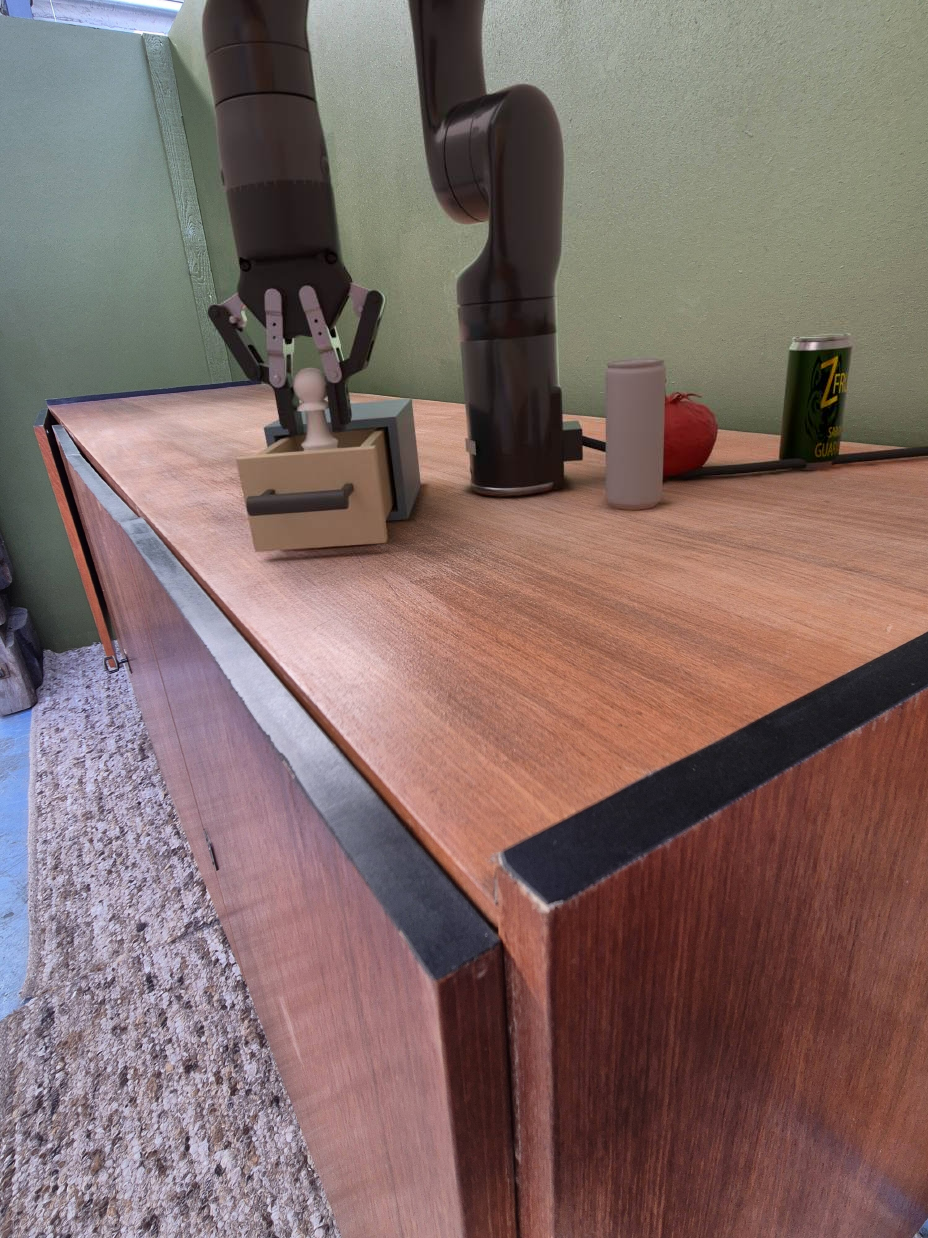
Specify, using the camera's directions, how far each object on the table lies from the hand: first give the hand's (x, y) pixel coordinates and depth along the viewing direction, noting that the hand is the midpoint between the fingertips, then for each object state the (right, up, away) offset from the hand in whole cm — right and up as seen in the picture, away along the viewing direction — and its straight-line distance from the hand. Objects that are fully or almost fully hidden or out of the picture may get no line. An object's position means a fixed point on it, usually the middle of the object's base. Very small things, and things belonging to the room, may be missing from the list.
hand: (317, 431), depth 57 cm
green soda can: (+46, 0, +14) cm, 48 cm away
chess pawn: (0, -4, +2) cm, 4 cm away
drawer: (+1, -8, +2) cm, 8 cm away
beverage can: (+27, -5, +6) cm, 28 cm away
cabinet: (+1, -4, +14) cm, 14 cm away
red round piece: (+32, 0, +16) cm, 36 cm away
